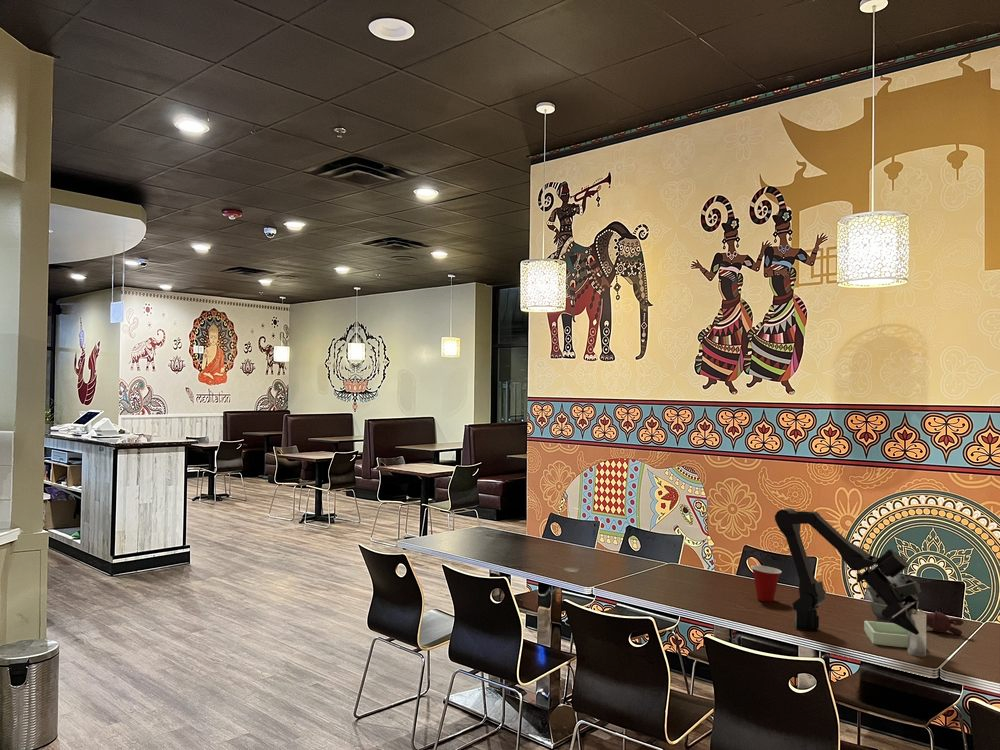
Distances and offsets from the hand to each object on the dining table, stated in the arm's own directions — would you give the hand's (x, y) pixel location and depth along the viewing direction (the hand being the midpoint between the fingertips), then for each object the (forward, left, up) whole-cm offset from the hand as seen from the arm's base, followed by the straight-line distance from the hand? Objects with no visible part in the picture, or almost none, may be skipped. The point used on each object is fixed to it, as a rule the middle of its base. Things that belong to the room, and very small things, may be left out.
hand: (922, 630), depth 217 cm
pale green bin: (-5, +13, -7) cm, 15 cm away
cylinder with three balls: (-1, +1, -7) cm, 7 cm away
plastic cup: (-40, +50, -7) cm, 64 cm away
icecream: (+11, +29, -7) cm, 32 cm away
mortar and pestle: (-3, +34, -7) cm, 35 cm away
